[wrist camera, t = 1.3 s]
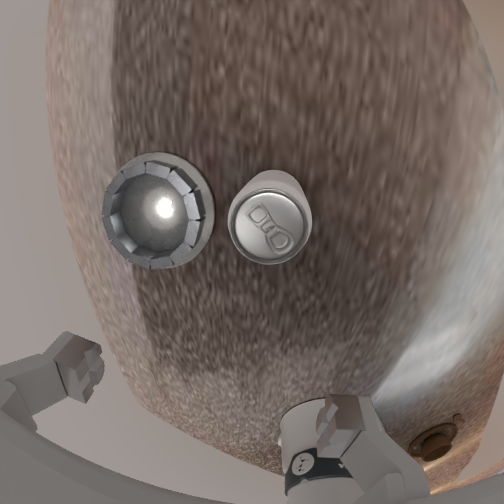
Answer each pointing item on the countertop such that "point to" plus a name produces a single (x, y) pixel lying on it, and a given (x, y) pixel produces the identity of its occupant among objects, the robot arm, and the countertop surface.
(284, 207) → the can
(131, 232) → the notched rim bowl
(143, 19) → the countertop surface
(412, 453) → the place setting
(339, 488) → the robot arm
